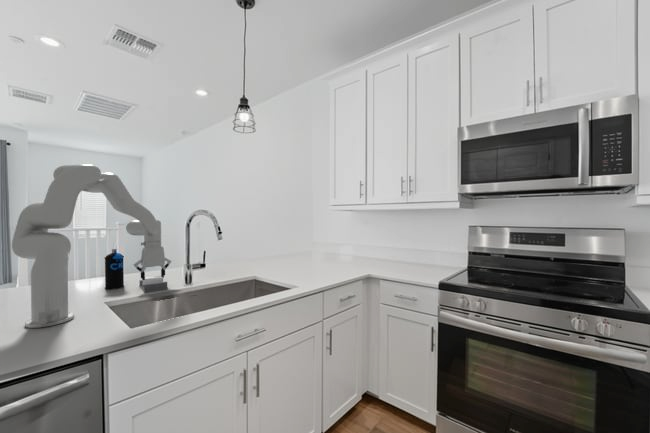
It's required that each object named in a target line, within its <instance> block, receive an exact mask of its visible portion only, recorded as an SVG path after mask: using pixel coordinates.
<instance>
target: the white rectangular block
mask: <svg viewBox="0 0 650 433" xmlns="http://www.w3.org/2000/svg"><path fill="white" fill-rule="evenodd" d="M160 282H164V277H162V276H161V275H159V276H158V275H157V276H145V279H144V280H143V285H145V284H153V283H160Z"/></svg>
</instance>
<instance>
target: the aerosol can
mask: <svg viewBox="0 0 650 433" xmlns="http://www.w3.org/2000/svg"><path fill="white" fill-rule="evenodd" d="M117 250H118V249H117V248H112V249H111V253H110V254H107V255H106V256H105V257H104V274H105V275H104V277H105V278H104V283H105V284H104V285H105V287H104V290H108V291H110V290H119V289H122V288H124V287H125V285H124V284H125V283H124V282H125V281H124V278H125V277H124V273H125V272H124V257H125V256H124V255H123V254H121V253H120V252H117Z"/></svg>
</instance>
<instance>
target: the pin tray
mask: <svg viewBox="0 0 650 433" xmlns="http://www.w3.org/2000/svg"><path fill="white" fill-rule="evenodd" d="M138 286H139V288H140V289H141V290H142V291H143V293H144V294H146V293H152V292H159V291H160V292H161V291H166V290H169V287H168V281H163V282H160V283H153V284H145V285H143V280H142V279H140V280H139V285H138Z"/></svg>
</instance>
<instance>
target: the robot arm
mask: <svg viewBox="0 0 650 433" xmlns="http://www.w3.org/2000/svg"><path fill="white" fill-rule="evenodd" d="M81 192H87V193H94V194H98V193H102V194H103V196H105V198H106V200H107V201H108V202H109V204H110V205H111V207H112V208H113V209H114V210H115V211H117V212H120V213H122V214H124V215H127V216H130V217H132V218H134V220H131V221H129V222H128V223H127V224H126V226H125V231H126V233H128V234H129V235H131V236H137V237H139V236H141V237H142V236H143V237H144V238H143V242H140V246H143V247H142V250H141V258H140V259H139V260H138V261H137V262H134V264H133V266H134V267H135V268H136V270H138V271H139V272H140V279H141V280H144V279H145V278H146V272H145V270H146V269H147V268H155V267H161V269H160V272H161V273H160V276H162V277H163V278H165V275H166V269H167V268H169V265H171V263H172V260H170V259H168V258H166V257H165V249H164V246H163V245H162V222H161V221H160V220H157V219H156V217H155V216H154V215H153V213H152V212H151V211H150V210H149V208H148V209H147V208H146V207H145V206H144V205H142V204H140V203H139V202H137V200H135V199H134V198H133V196H132V195H131V194H130V192H129V190H128V189H127V187H126V185H125V184H124V183H123V181H122V180H121V178H120V177H119V176H118V175H117V174H115V173H112V172H102V171H101V168H99V167H98V166H96V165H94V164H90V163H89V164H88V163H87V164H86V163H85V164H84V163H82V164H68V165H67V164H66V165H60V166H59V167H56V168H55V169H54V171H53V180H52V182H50V185H49V186H48V189H47V192H46V194H45V198H44V201H43V202H37V203H36V202H35V203H32V204H31V203H30V204H29V205H27V206H25V207H24V208H23V210H22V211H21V212H20V214H19V216H18V218H17V223H16V226H15V230H14V234H13V237H12V240H11V249H12V250H11V251H12V252H13V253H14V255H15V256H17V257H19V258H21V259H26V260H28V259H31V260H34V262H33V264H32V267H31V271H30V300H31V301H30V302H31V303H30V306H31V314H30V315H31V318H30V319H28V320H27V321H26V322H25V323H24V326H25V327H26V328H27V329H28V328H29V329H37V328H46V327H51V326H56V325H57V326H58V325H60V324H64V323H66V322H69V321H71V320H72V319H73V318H74V317H75V314H74V313H73V312H70V311H69V282H68V281H69V275H68V274H69V273H68V271H69V269H68V268H69V267H68V266H69V258H70V254H71V249H72V248H71V247H72V243H71V240H70V239H69V237H67V235H64V234H62V233H59V232H51V231H49V230H60V229H66V228H67V227H69V226H70V225H71V223H72V220H73V217H74V213H75V210H76V209H75V208H76V205H77V201H78V198H79V195H80V193H81ZM48 231H49V232H48ZM139 265H141V267H140V266H139Z"/></svg>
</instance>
